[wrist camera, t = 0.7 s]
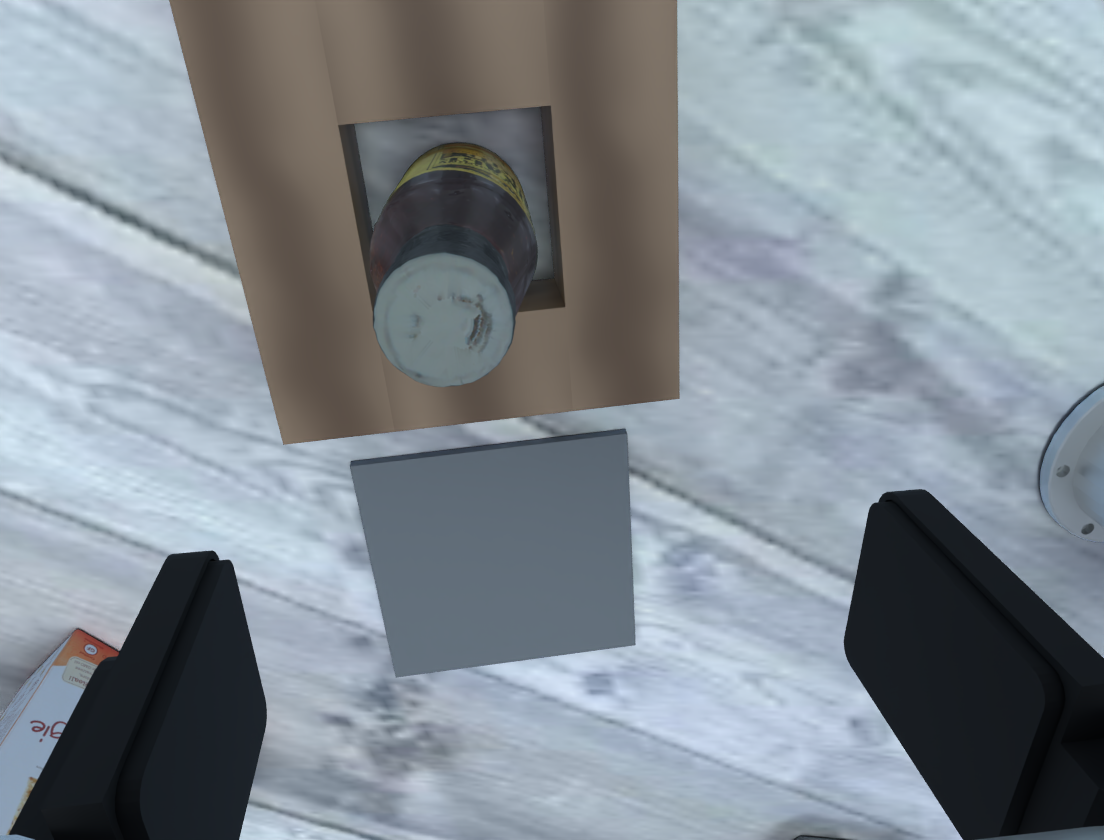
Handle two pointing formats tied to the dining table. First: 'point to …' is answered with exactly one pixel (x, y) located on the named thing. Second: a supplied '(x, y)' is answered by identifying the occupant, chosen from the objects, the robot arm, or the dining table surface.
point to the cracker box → (42, 718)
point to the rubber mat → (501, 550)
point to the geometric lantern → (812, 838)
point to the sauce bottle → (451, 265)
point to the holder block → (343, 214)
